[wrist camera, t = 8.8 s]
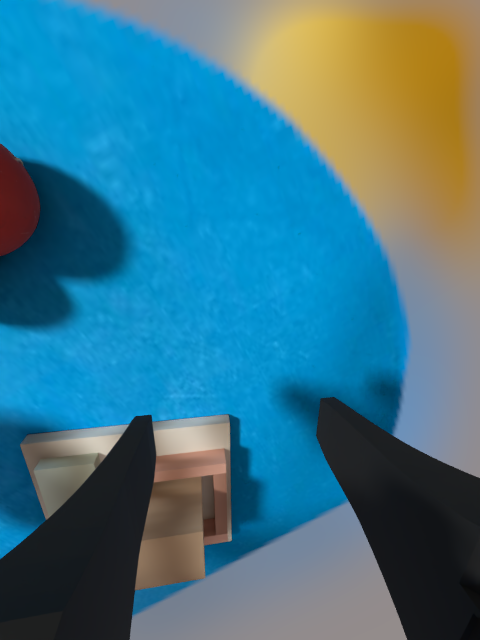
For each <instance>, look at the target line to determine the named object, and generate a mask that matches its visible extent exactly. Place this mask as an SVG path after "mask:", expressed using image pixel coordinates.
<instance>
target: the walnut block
mask: <svg viewBox="0 0 480 640" xmlns="http://www.w3.org/2000/svg"><path fill="white" fill-rule="evenodd" d="M203 578H205V556H204V525H203V500H202V480H201V476H199V477H192V478H184V479H176V480H169V481H161V482H154V483H153V488H152V493H151V498H150V503H149V508H148V513H147V517H146V522H145V527H144V532H143V537H142V542H141V547H140V553H139V560H138V568H137V576H136V585H135V590H140V589H145V588H151V587H157V586H163V585H168V584H174V583H180V582H186V581H191V580H197V579H203Z"/></svg>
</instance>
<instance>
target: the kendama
mask: <svg viewBox="0 0 480 640" xmlns="http://www.w3.org/2000/svg"><path fill="white" fill-rule="evenodd" d="M39 216H40V201H39V197H38V193H37V190H36V187H35V185H34V183H33V181H32V179H31V177H30V175H29V174H28V172H27V171H26V169H25V168H24V166H23V162H22V161H21V160H20V159H19V158H16V157H15V156H14V155H13V154H12V153H11V152H10V151H9V150H8V149H7V148H5V147H4V146H3V145H2V144H0V256H3V255H6V254H8V253H10V252H12V251H14V250H16V249H18V248H19V247H20V246H22V245H23V244H24V243H25V242H26V241H27V240H28V239H29V238H30V237H31V235H32V234H33V232H34V230H35V229H36V228H37V224H38V221H39Z"/></svg>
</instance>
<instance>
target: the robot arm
mask: <svg viewBox="0 0 480 640" xmlns="http://www.w3.org/2000/svg"><path fill="white" fill-rule="evenodd" d="M316 436H317V439H318V441H319V444H320V447H321V449H322V452H323V454H324V456H325V459H326V460H327V462H328V464H329V466H330V468H331V470H332V472H333V473H334V475H335V477H336V479H337V481H338V482H339V484H340V486H341V488H342V490H343V491H344V493H345V495H346V497H347V499H348V500H349V502H350V504H351V506H352V508H353V509H354V511H355V513H356V515H357V517H358V519H359V521H360V523H361V525H362V528H363V530H364V533H365V535H366V537H367V539H368V542H369V544H370V546H371V548H372V551H373V553H374V555H375V558H376V560H377V563H378V565H379V568H380V570H381V572H382V575H383V577H384V579H385V582H386V585H387V587H388V590H389V592H390V595H391V598H392V600H393V603H394V605H395V608H396V610H397V613H398V615H399V618H400V621H401V624H402V626H403V629H404V632H405V635H406V637H407V640H480V478H478V477H475V476H473V475H470V474H468V473H465V472H463V471H461V470H459V469H456V468H454V467H452V466H449V465H447V464H445V463H443V462H441V461H438V460H437V459H435V458H432V457H430V456H429V455H427V454H425V453H423V452H420V451H419V450H417V449H415V448H413V447H411V446H409V445H407V444H406V443H404V442H402V441H400V440H399V439H397V438H396V437H394V436H392V435H391V434H389V433H387V432H386V431H384V430H383V429H381V428H379V427H378V426H376V425H375V424H373V423H372V422H370V421H369V420H367V419H366V418H364V417H363V416H361V415H360V414H358V413H357V412H355V411H354V410H353V409H351V408H350V407H348V406H347V405H345V404H344V403H342V402H341V401H339V400H338V399H336V398H334V397H330V398H321V400H320V409H319V417H318V425H317V434H316ZM156 455H157V454H156V446H155V439H154V431H153V424H152V416H151V415H144V416H136V417H135V418H134V419H133V420H132V421H131V423H130V424H129V426H128V427H127V429H126V430H125V431H124V433H123V434H122V436H121V437H120V438H119V440H118V441H117V443H116V444H115V445H114V446H113V448H112V449H111V450H110V452H109V453H108V454H107V456H106V457H105V458H104V459H103V461H102V462H101V463H100V464H99V465H98V467H97V468H96V469H95V470H94V471H93V472H92V474H91V475H90V476H89V477H88V478H87V480H86V481H85V482H84V483H83V484H82V485H81V486H80V487H79V488H78V489H77V490H76V492H75V493H74V494H73V495H72V496H71V497H70V498H69V499H68V500H67V501H66V502H65V503H64V504H63V505H62V506H61V507H60V508H59V509H58V510H57V511H56V512H54V513H53V514H52V515H51V516H50V517H49V518H48V519H47V520H46V521H45V522H44V523H43V524H42V525H40V526H39V527H38V528H37V529H36V530H35V531H34V532H33V533H32V534H30V535H29V536H28V537H27V538H26V539H25V540H23V541H22V542H21V543H20V544H19V545H17V546H16V547H15V548H14V549H13V550H11V551H10V552H9V553H8V554H6V555H5V556H4V557H3V558H1V559H0V640H129V639H130V629H131V620H132V611H133V602H134V593H135V585H136V576H137V568H138V560H139V553H140V547H141V542H142V537H143V532H144V527H145V522H146V517H147V513H148V508H149V503H150V498H151V493H152V488H153V483H154V476H155V466H156Z"/></svg>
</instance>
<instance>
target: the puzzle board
mask: <svg viewBox="0 0 480 640" xmlns="http://www.w3.org/2000/svg"><path fill="white" fill-rule="evenodd" d="M152 424H153V431H154V439H155V446H156V454H157V455H156V466H155V476H154V482H161V481H169V480H176V479H184V478H192V477H199V476H201V480H202V500H203V525H204V545H210V544H216V543H222V542H228V541H232V538H231V470H230V421H229V415H228V414H227V415H217V416H207V417H198V418H188V419H178V420H168V421H158V422H152ZM128 426H129V424H128V425H118V426H108V427H98V428H88V429H78V430H68V431H58V432H48V433H38V434H28V435H27V436H26V437H25V439H24V440H23V441H22V443H21V444H20V446H21V449H22V452H23V455H24V458H25V461H26V464H27V466H28V469H29V472H30V475H31V478H32V481H33V484H34V487H35V489H36V492H37V495H38V498H39V501H40V504H41V507H42V510H43V512H44V515H45V518H46V520H47V519H48V518H49V517H50V516H51V515H52V514H53V513H54V512H56V511H57V510H58V509H59V508H60V507H61V506H62V505H63V504H64V503H65V502H66V501H67V500H68V499H69V498H70V497H71V496H72V495H73V494H74V493H75V492H76V490H77V489H78V488H79V487H80V486H81V485H82V484H83V483H84V482H85V481H86V480H87V478H88V477H89V476H90V475H91V474H92V472H93V471H94V470H95V469H96V468H97V467H98V465H99V464H100V463H101V462H102V461H103V459H104V458H105V457H106V456H107V454H108V453H109V452H110V450H111V449H112V448H113V446H114V445H115V444H116V443H117V441H118V440H119V438H120V437H121V436H122V434H123V433H124V431H125V430H126V429H127V427H128Z"/></svg>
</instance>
